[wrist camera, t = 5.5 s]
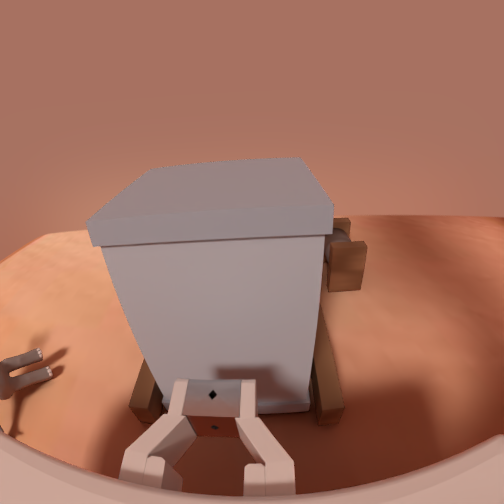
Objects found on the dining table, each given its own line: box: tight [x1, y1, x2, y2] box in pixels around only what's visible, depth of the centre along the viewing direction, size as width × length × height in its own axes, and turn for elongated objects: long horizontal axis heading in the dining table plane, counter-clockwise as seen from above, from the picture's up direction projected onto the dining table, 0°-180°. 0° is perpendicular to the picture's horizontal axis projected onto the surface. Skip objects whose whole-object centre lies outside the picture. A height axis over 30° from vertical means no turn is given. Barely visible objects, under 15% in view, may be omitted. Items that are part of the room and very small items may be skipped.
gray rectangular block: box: [86, 158, 334, 414], centre depth 15 cm, size 8×7×12 cm
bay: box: [129, 218, 367, 426], centre depth 21 cm, size 16×19×4 cm
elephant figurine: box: [0, 348, 53, 432], centre depth 13 cm, size 10×6×9 cm
